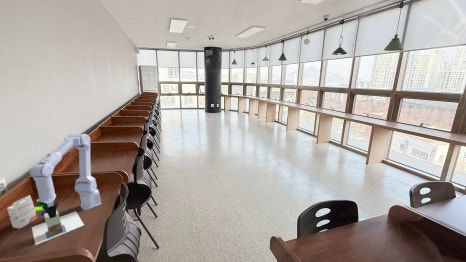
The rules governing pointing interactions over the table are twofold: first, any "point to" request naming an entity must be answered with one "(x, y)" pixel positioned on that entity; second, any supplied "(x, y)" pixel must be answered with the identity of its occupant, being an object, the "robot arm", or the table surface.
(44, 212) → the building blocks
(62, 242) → the table surface
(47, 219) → the sage block
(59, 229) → the walnut block
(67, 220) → the blueprint board
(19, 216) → the ink cartridge box
